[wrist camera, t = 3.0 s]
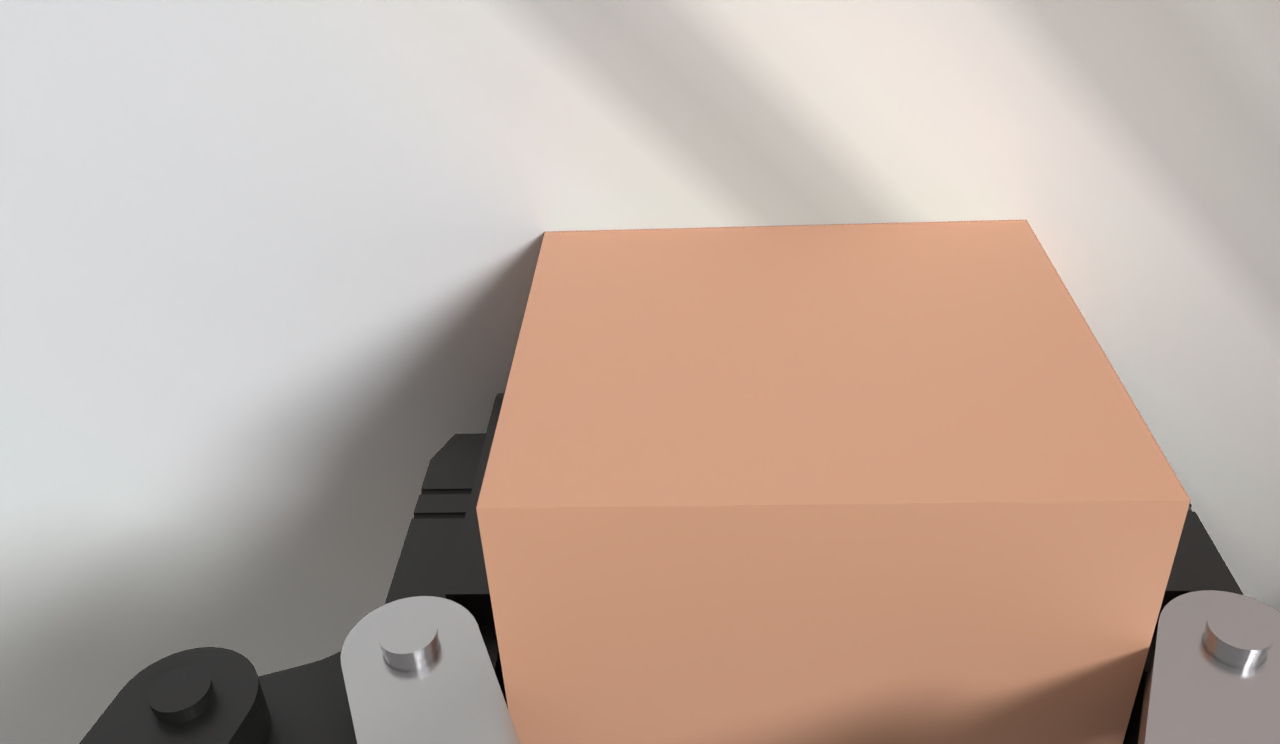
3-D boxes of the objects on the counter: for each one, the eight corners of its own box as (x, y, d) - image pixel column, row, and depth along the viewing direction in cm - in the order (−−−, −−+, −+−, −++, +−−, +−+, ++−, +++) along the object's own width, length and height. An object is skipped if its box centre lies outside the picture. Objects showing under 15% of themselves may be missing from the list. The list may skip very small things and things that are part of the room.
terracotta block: (1025, 220, 13) (1190, 500, 9) (972, 579, 16) (1074, 919, 12) (544, 231, 13) (475, 508, 9) (580, 581, 16) (541, 913, 12)
